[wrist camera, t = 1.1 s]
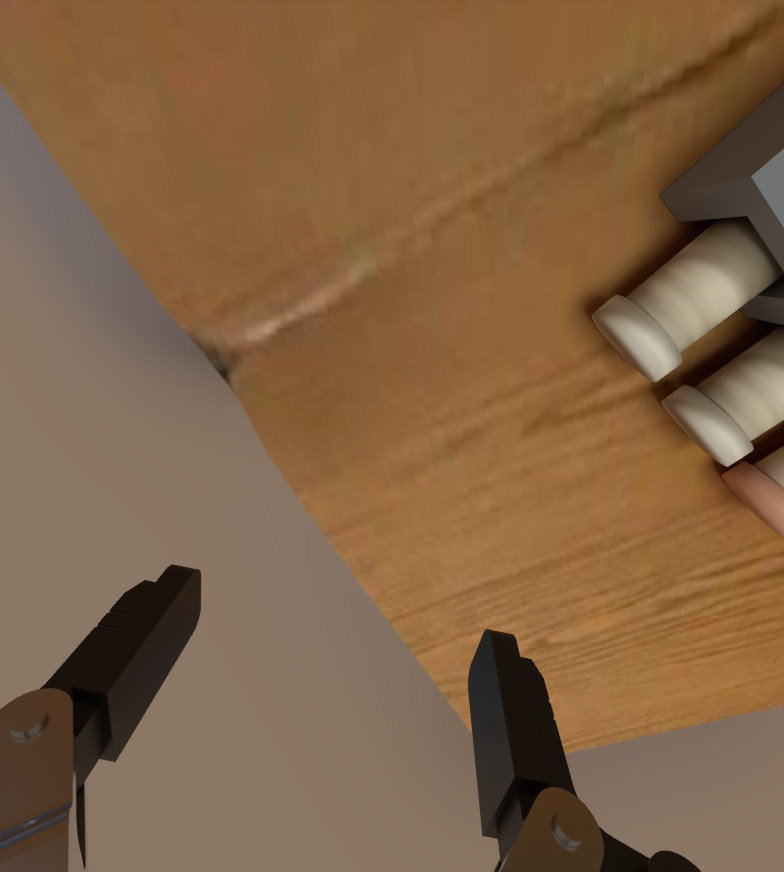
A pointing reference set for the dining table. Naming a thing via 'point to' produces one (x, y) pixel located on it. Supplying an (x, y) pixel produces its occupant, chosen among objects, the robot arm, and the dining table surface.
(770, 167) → the socket block
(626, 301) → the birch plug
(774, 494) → the terracotta plug
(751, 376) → the middle birch plug
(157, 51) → the dining table surface
